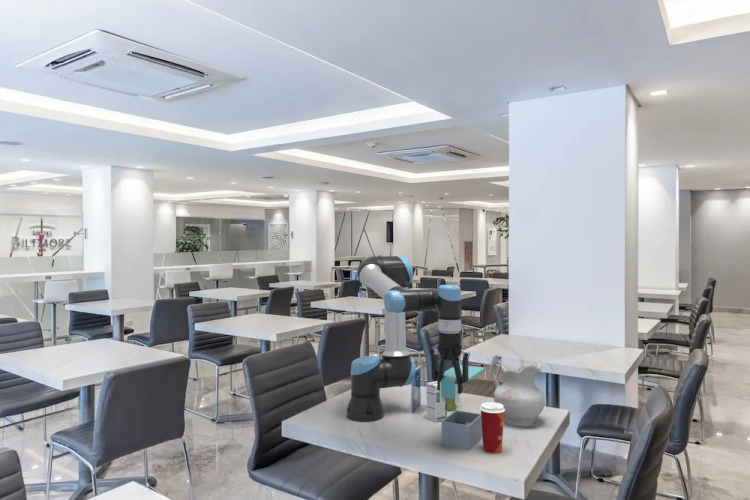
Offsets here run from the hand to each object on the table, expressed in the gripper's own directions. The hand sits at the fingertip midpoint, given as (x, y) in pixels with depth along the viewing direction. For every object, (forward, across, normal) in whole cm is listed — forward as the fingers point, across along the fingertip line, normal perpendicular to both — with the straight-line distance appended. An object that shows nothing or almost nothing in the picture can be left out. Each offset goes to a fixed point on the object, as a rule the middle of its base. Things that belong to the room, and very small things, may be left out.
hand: (449, 401), depth 169 cm
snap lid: (-2, 0, +9) cm, 10 cm away
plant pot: (+17, -18, +43) cm, 50 cm away
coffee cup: (+17, +12, +8) cm, 22 cm away
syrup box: (+17, -17, +28) cm, 37 cm away
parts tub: (+17, 0, +11) cm, 20 cm away
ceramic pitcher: (+17, +11, +41) cm, 46 cm away
